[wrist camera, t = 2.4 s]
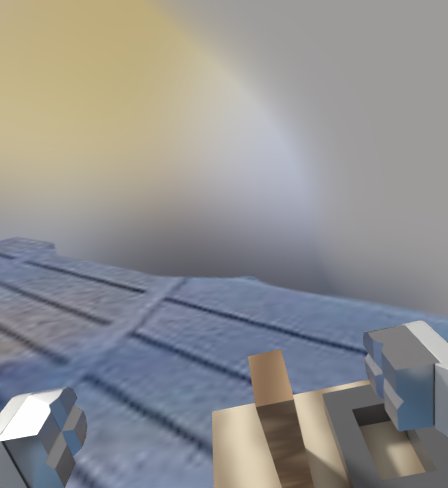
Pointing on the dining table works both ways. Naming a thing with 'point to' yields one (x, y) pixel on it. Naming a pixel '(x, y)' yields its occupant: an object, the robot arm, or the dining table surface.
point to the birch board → (315, 440)
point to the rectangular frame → (356, 451)
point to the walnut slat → (280, 419)
